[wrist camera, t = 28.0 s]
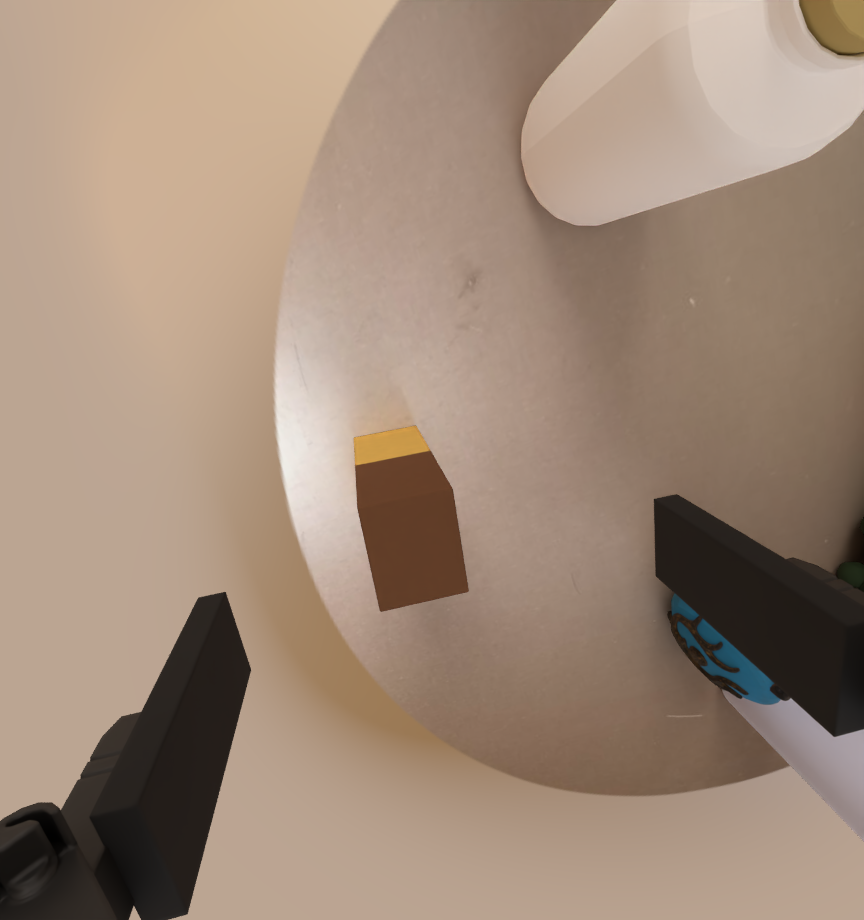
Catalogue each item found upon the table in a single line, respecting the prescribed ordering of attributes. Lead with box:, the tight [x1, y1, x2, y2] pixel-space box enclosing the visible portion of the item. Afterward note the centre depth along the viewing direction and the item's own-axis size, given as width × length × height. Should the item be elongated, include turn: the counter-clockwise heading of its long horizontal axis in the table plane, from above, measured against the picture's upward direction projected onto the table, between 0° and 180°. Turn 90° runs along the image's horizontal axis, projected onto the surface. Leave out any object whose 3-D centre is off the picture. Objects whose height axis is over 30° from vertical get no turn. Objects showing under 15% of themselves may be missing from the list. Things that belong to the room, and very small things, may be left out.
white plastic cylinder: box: [521, 0, 864, 226], centre depth 21 cm, size 8×8×18 cm
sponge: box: [354, 426, 469, 612], centre depth 28 cm, size 4×5×12 cm
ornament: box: [667, 593, 790, 705], centre depth 36 cm, size 8×5×10 cm, turn 27°
